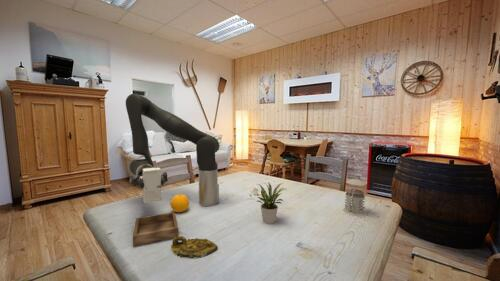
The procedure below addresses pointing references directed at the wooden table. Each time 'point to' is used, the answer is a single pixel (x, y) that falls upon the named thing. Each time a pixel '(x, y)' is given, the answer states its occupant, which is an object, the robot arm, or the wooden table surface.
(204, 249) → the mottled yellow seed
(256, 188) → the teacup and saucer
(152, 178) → the skincare box
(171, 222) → the walnut box
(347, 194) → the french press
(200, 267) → the wooden table surface
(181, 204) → the orange
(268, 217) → the house plant
